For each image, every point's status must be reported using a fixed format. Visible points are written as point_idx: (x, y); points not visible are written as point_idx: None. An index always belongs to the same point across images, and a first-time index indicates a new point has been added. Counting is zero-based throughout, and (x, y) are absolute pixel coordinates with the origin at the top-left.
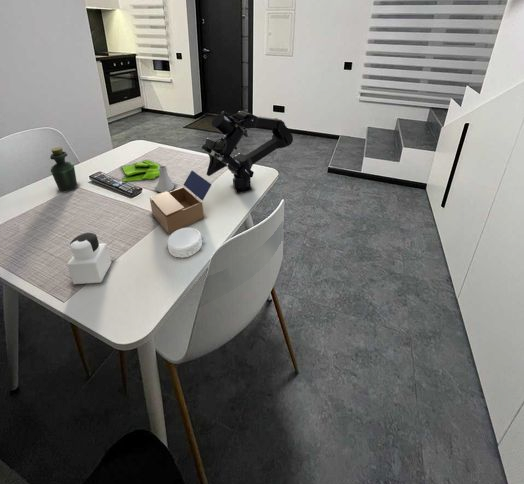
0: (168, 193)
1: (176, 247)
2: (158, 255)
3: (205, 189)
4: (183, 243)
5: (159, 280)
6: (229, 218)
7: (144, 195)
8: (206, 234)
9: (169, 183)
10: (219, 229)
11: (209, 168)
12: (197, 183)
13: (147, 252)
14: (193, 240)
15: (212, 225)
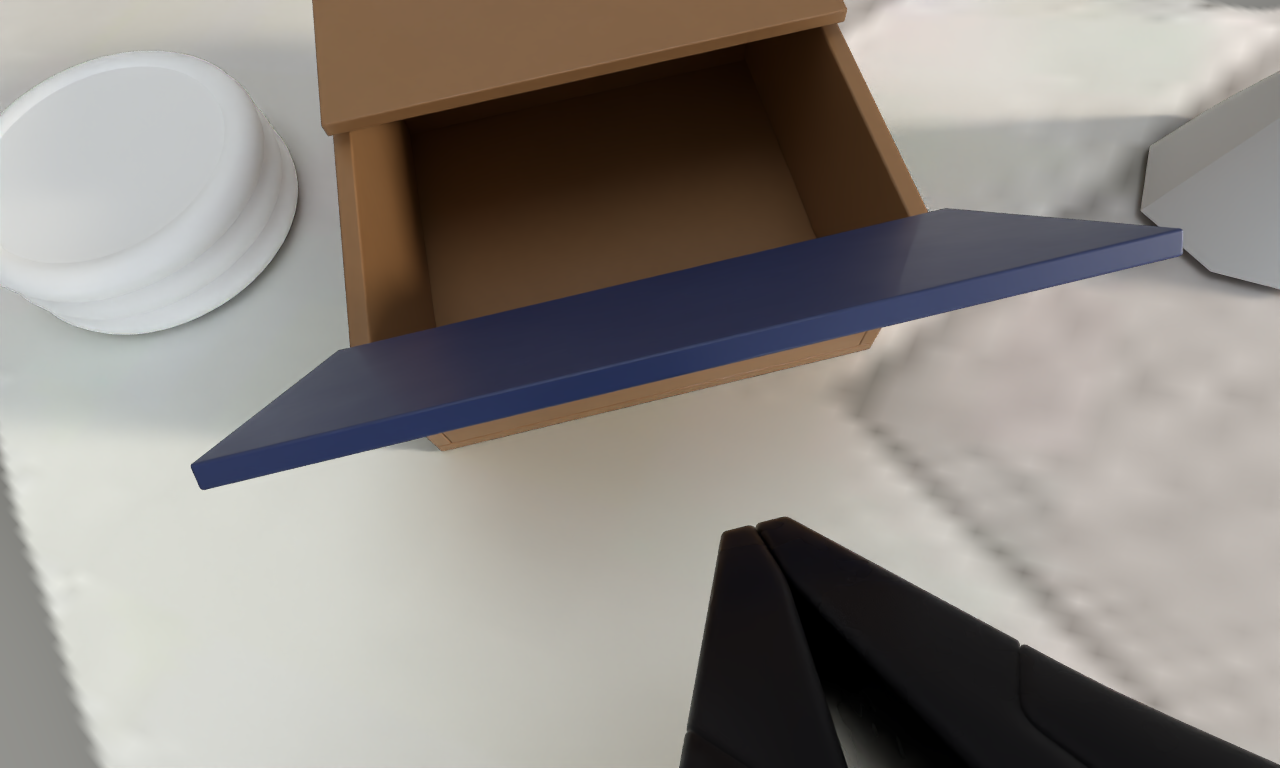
0: (768, 18)
1: (34, 87)
2: (223, 59)
3: (337, 387)
4: (40, 140)
5: (15, 47)
6: (247, 733)
7: (1134, 22)
8: (183, 404)
9: (1271, 186)
10: (157, 545)
11: (838, 623)
12: (659, 309)
13: (301, 8)
14: (7, 214)
15: (265, 498)
